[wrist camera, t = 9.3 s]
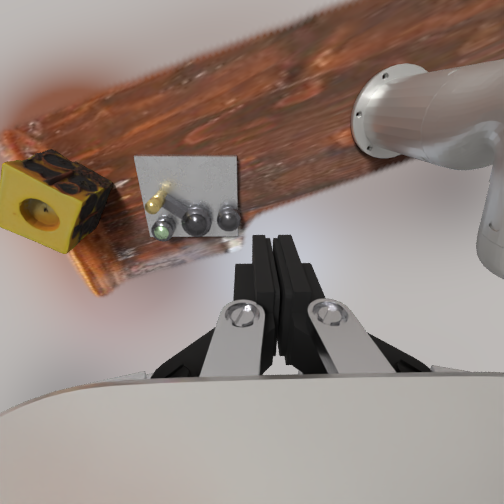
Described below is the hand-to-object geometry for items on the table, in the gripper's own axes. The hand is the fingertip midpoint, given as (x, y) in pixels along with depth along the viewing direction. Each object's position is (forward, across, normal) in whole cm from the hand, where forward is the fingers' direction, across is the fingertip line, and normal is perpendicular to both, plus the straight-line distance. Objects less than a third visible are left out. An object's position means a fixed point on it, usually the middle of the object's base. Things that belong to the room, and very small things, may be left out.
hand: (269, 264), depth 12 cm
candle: (+35, +30, +7) cm, 46 cm away
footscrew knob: (+33, +12, +10) cm, 36 cm away
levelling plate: (+35, +10, +8) cm, 37 cm away
